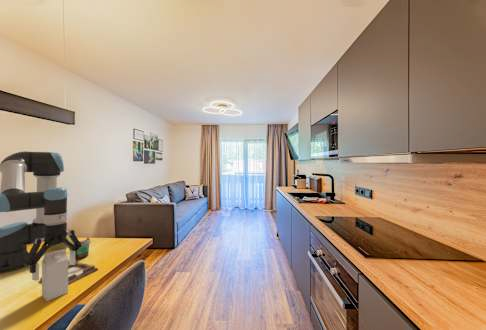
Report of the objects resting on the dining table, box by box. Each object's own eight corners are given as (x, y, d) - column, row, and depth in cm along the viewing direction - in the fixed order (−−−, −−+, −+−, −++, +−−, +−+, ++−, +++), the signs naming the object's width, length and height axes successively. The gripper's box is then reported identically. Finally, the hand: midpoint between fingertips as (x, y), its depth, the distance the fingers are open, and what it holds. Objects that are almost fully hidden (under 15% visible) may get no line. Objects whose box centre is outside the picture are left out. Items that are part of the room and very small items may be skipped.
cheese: (59, 244, 146) (59, 230, 146) (76, 243, 148) (76, 229, 148) (48, 250, 136) (48, 235, 136) (66, 249, 138) (66, 234, 138)
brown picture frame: (40, 280, 100) (40, 275, 100) (75, 265, 115) (75, 260, 115) (64, 286, 95) (64, 281, 95) (97, 270, 110) (97, 265, 110)
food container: (76, 262, 118) (76, 245, 118) (67, 261, 119) (68, 244, 119) (95, 253, 130) (95, 238, 130) (87, 253, 132) (87, 237, 132)
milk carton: (41, 295, 88) (42, 251, 88) (62, 287, 94) (63, 246, 94) (46, 301, 84) (46, 256, 85) (68, 293, 90) (68, 250, 90)
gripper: (23, 232, 76) (22, 289, 76) (90, 217, 100) (90, 260, 100) (11, 230, 79) (10, 286, 78) (79, 216, 102) (79, 258, 102)
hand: (55, 271), depth 89 cm, fingers open, 13 cm apart
